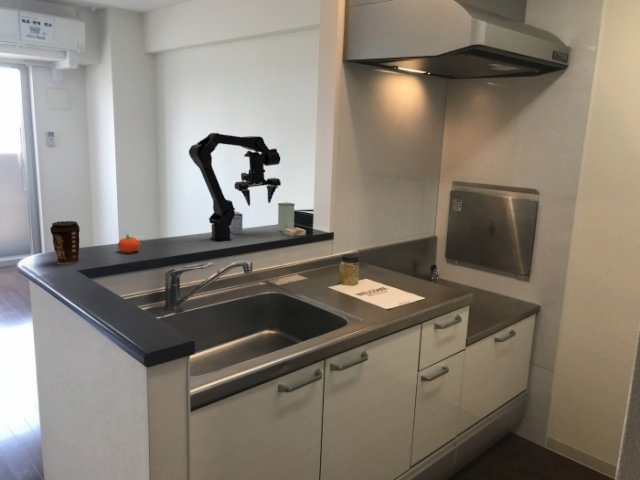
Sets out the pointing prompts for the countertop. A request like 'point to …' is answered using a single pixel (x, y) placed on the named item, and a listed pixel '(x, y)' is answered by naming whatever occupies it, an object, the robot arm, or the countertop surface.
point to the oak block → (294, 231)
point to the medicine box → (236, 224)
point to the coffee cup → (66, 241)
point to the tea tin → (285, 216)
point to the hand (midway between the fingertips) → (259, 204)
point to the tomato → (128, 244)
